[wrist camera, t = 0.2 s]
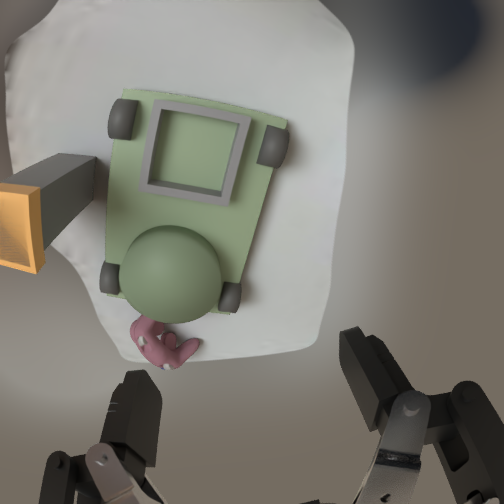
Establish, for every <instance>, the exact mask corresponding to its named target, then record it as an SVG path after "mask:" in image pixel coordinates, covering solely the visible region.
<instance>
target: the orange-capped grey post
mask: <svg viewBox="0 0 504 504" xmlns="http://www.w3.org/2000/svg"><path fill="white" fill-rule="evenodd" d="M95 163H96V157H94V156H84V155H74V154H62V153H58V154H56V155H54V156H51V157H49V158H47V159H45V160H43V161H40V162H38V163H36V164H34V165H32V166H30V167H28V168H26V169H24V170H22V171H20V172H18V173H16V174H14V175H12V176H11V177H9V178H7V179H5V180H3V181H2V182H0V264H1V265H4V266H8V267H12V268H15V269H19V270H22V271H26V272H30V273H34V274H37V273H38V272H39V270H40V269H41V268H42V266H43V265H44V264H45V255H44V250H45V249H46V248H47V247H48V246H49V245H50V244H51V242H52V241H53V240H54V239H55V238H56V237H57V236H58V235H59V234H60V233H61V232H62V230H63V229H64V228H65V227H66V226H67V225H68V224H69V223H70V222H71V221H72V220H73V219H74V218H75V217H76V216H77V215H78V214H79V213H80V212H81V211H82V210H83V209H84V208H85V207H86V206H87V205H88V204H89V203H90V202H91V201H92V200H93V186H94V173H95Z"/></svg>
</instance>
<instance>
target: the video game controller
mask: <svg viewBox="0 0 504 504" xmlns="http://www.w3.org/2000/svg"><path fill="white" fill-rule="evenodd" d="M163 331H164V324H163V322H159V321H155V320H152V319H150V318H148V317H146V316H144V315H141V316H140V317H139V318H138V320H136V321H134V322H133V323H132V325H131V328H130V335H131V338H132V340H133V341H134V342H135V343H136V345H137V347H138V349H139V350H140V352H141V353H142V354H143V356H144V357H145V358H146V359H147V360H148V361H150V362H151V363H152V364H154V365H155V366H157V367H160V368H161V369H164V370H173V369H176V368H178V367H180V366H181V365H182V364H183V363H184V362H185V361H186V360H187V359H188V358H189V357H190V356H191V355H192V354H193V353H194V352H195V351H196V350H197V348H198V346H199V340H198V339H196V338H193V339H190V340H188V341H186V342H184V343H183V344H181V345H180V346H178V347H177V348H176V336H175V335H174V334H173V333H163V334H162V332H163ZM160 334H162V336H161V340H159V339H158V337H157V336H158V335H160Z"/></svg>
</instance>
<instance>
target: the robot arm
mask: <svg viewBox="0 0 504 504" xmlns="http://www.w3.org/2000/svg"><path fill="white" fill-rule="evenodd" d="M339 338H340V339H339V359H340V365H341V368H342V370H343V373H344V375H345V377H346V379H347V382H348V384H349V386H350V388H351V390H352V393H353V395H354V397H355V399H356V401H357V404H358V406H359V408H360V411H361V413H362V415H363V417H364V420H365V422H366V424H367V426H368V429H369V431H370V432H371V431H374V430H377V429H378V431H379V433H380V435H381V437H380V440H379V443H378V445H377V448H376V451H375V454H374V456H373V459H372V461H371V464H370V466H369V469H368V471H367V474H366V476H365V478H364V480H363V482H362V484H361V486H360V489H359V491H358V493H357V495H356V497H355V499H354V501H353V503H352V504H409V502H410V499H411V497H412V494H413V491H414V488H415V485H416V482H417V479H418V476H419V472H420V469H421V461H420V455H421V452H422V448H423V445H427V444H432V443H433V445H434V448H435V450H436V452H437V454H438V457H439V459H440V461H441V464H442V466H443V468H444V471H445V474H446V476H447V479H448V481H449V484H450V486H451V489H452V492H453V494H454V497H455V499H456V502H457V504H504V424H503V423H502V421H501V419H500V418H499V416H498V414H497V412H496V411H495V409H494V407H493V406H492V404H491V402H490V401H489V399H488V398H487V396H486V395H485V393H484V391H483V390H482V389H481V387H480V386H479V385H478V384H477V383H475V382H473V381H463V382H460V383H458V384H457V385H456V386H455V387H454V388H453V390H452V392H448V393H443V394H438V395H425V394H424V393H422V392H420V391H416V390H415V389H414V388H413V387H412V386H411V384H410V382H409V381H408V379H407V378H406V376H405V375H404V373H403V371H402V370H401V368H400V367H399V365H398V364H397V362H396V361H395V360H394V357H393V356H392V354H391V353H390V352H389V350H388V349H387V347H386V345H385V344H384V342H383V341H382V340H380V339H379V338H377V337H376V336H374V335H370V336H367V337H365V335H364V334H363V332H362V331H361V329H360V328H359V327H358V326H357V327H354V328H351V329H347V330H344V331H340V336H339ZM161 410H162V397H161V394H160V391H159V390H158V388H157V387H156V385H155V384H154V382H153V381H152V380H151V378H150V376H149V375H148V373H147V372H146V371H145V370H134V371H128V372H126V375H125V378H124V381H123V383H121V384H119V385H118V386H117V388H116V389H115V390H114V392H113V394H112V397H111V401H110V405H109V408H108V413H107V415H106V419H105V423H104V427H103V431H102V435H101V439H100V442H99V443H97V444H94V445H92V446H91V447H90V448H89V449H88V451H87V453H86V454H84V455H79V456H74V457H70V456H69V455H67V454H66V453H65V452H63V451H55V452H54V453H52V454H51V455H50V456H49V458H48V459H47V463H46V468H45V472H44V477H43V482H42V487H41V493H40V499H39V504H73V503H74V495H75V491H77V492H78V497H77V504H168V503H167V501H166V500H165V499H164V498H163V496H162V495H161V494H160V492H159V491H158V490H157V488H156V487H155V486H154V484H153V483H152V482H151V480H150V479H149V477H148V476H147V475H146V474H145V468H146V467H155V463H156V453H157V443H158V434H159V426H160V418H161ZM302 504H334V503H320V502H319V500H314V501H310V502H306V503H302Z"/></svg>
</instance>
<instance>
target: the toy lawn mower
mask: <svg viewBox="0 0 504 504" xmlns="http://www.w3.org/2000/svg"><path fill="white" fill-rule="evenodd" d="M287 121H288V120H286V119H283V118H279V117H276V116H272V115H269V114H265V113H261V112H258V111H254V110H250V109H246V108H242V107H237V106H233V105H229V104H224V103H219V102H215V101H210V100H204V99H199V98H193V97H188V96H181V95H175V94H168V93H160V92H152V91H143V90H133V89H123V93H122V98H121V99H117V100H116V101H115V103H114V104H113V106H112V109H111V112H110V115H109V120H108V135H109V137H110V138H111V139H114V142H113V149H112V156H111V164H110V173H109V184H108V196H107V211H106V243H105V261H104V263H103V265H102V268H101V273H100V291H101V292H102V293H107V296H111V297H117V298H122V299H126V300H127V301H128V302H129V304H130V305H131V306H132V307H133V308H134V309H135V310H137V311H138V312H139V313H141V314H142V315H144V316H146V317H148V318H150V319H152V320H155V321H159V322H163V323H185V322H190V321H193V320H196V319H198V318H200V317H202V316H203V315H205V314H206V313H208V312H212V313H220V314H229V315H230V313H236V312H237V310H238V308H239V304H240V298H241V283H240V279H241V275H242V272H243V269H244V265H245V262H246V259H247V255H248V252H249V248H250V245H251V242H252V238H253V235H254V231H255V228H256V225H257V221H258V218H259V215H260V211H261V208H262V205H263V201H264V198H265V194H266V191H267V188H268V184H269V181H270V178H271V174H272V171H273V168H276V169H277V168H279V167H280V165H281V164H282V162H283V160H284V158H285V155H286V152H287V148H288V143H289V132H288V131H287V130H285V128H286V124H287Z"/></svg>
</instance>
